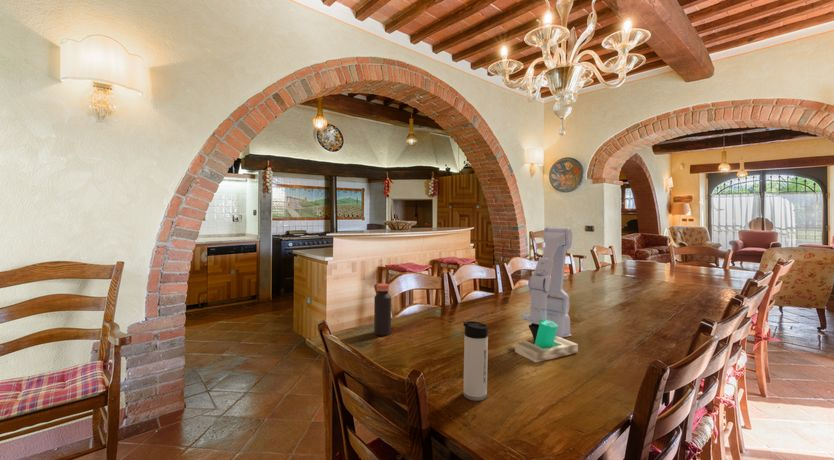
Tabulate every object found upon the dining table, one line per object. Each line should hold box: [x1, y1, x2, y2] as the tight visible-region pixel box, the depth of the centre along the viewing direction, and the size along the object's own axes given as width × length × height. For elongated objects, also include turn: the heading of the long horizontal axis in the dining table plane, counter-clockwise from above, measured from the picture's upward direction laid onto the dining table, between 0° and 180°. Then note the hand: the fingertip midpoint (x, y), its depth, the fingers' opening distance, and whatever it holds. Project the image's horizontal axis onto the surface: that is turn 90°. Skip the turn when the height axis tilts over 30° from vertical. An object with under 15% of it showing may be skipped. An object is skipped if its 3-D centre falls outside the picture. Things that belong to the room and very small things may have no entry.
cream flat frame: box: [514, 336, 579, 363], centre depth 128 cm, size 20×10×3 cm, turn 116°
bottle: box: [373, 283, 392, 337], centre depth 146 cm, size 7×7×20 cm
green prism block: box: [534, 320, 558, 349], centre depth 127 cm, size 6×6×12 cm
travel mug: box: [462, 320, 489, 402], centre depth 97 cm, size 6×7×20 cm
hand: (537, 344), depth 132 cm, fingers closed
